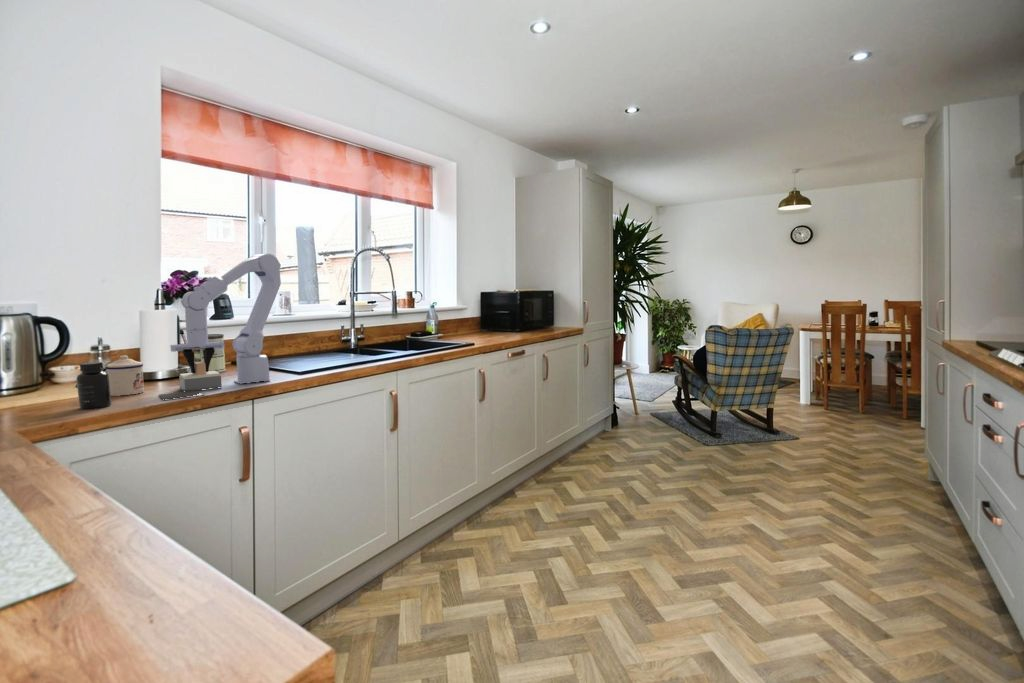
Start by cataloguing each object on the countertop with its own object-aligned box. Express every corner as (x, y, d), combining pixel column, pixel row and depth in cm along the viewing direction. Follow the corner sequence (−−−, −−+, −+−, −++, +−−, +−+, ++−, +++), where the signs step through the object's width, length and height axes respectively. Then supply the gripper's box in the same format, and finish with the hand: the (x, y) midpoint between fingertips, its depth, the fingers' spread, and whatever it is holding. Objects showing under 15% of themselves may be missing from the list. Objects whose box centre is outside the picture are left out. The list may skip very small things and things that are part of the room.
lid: (214, 376, 172) (213, 360, 172) (220, 378, 167) (219, 362, 166) (180, 379, 166) (179, 363, 165) (185, 382, 160) (184, 365, 160)
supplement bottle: (91, 404, 144) (87, 361, 143) (117, 403, 145) (113, 360, 144) (72, 410, 138) (68, 364, 136) (100, 409, 138) (96, 364, 137)
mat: (197, 391, 162) (196, 390, 162) (203, 395, 155) (203, 394, 155) (158, 395, 155) (158, 394, 155) (163, 400, 149) (163, 399, 149)
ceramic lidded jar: (141, 395, 157) (138, 356, 156) (104, 397, 153) (100, 358, 152) (150, 388, 168) (147, 352, 167) (115, 390, 164) (112, 353, 163)
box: (215, 384, 173) (214, 372, 173) (221, 388, 167) (220, 375, 167) (180, 388, 166) (179, 376, 166) (185, 392, 160) (184, 379, 160)
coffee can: (188, 373, 198) (186, 336, 196) (207, 369, 208) (204, 333, 206) (214, 373, 196) (211, 336, 195) (231, 369, 207) (229, 333, 205)
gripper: (172, 331, 157) (175, 376, 158) (225, 328, 167) (228, 371, 168) (167, 330, 162) (171, 373, 164) (220, 327, 172) (222, 368, 173)
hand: (199, 372), depth 166 cm, fingers open, 3 cm apart
